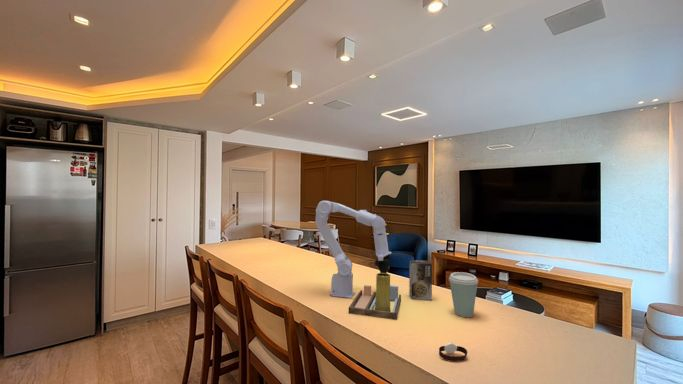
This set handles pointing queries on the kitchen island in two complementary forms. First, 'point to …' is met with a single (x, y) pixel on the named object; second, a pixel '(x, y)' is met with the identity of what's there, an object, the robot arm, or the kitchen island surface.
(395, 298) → the tray
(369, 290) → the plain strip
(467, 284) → the disposable coffee cup
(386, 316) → the lane rack
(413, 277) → the coffee box
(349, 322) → the kitchen island surface
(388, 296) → the vase
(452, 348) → the watch
